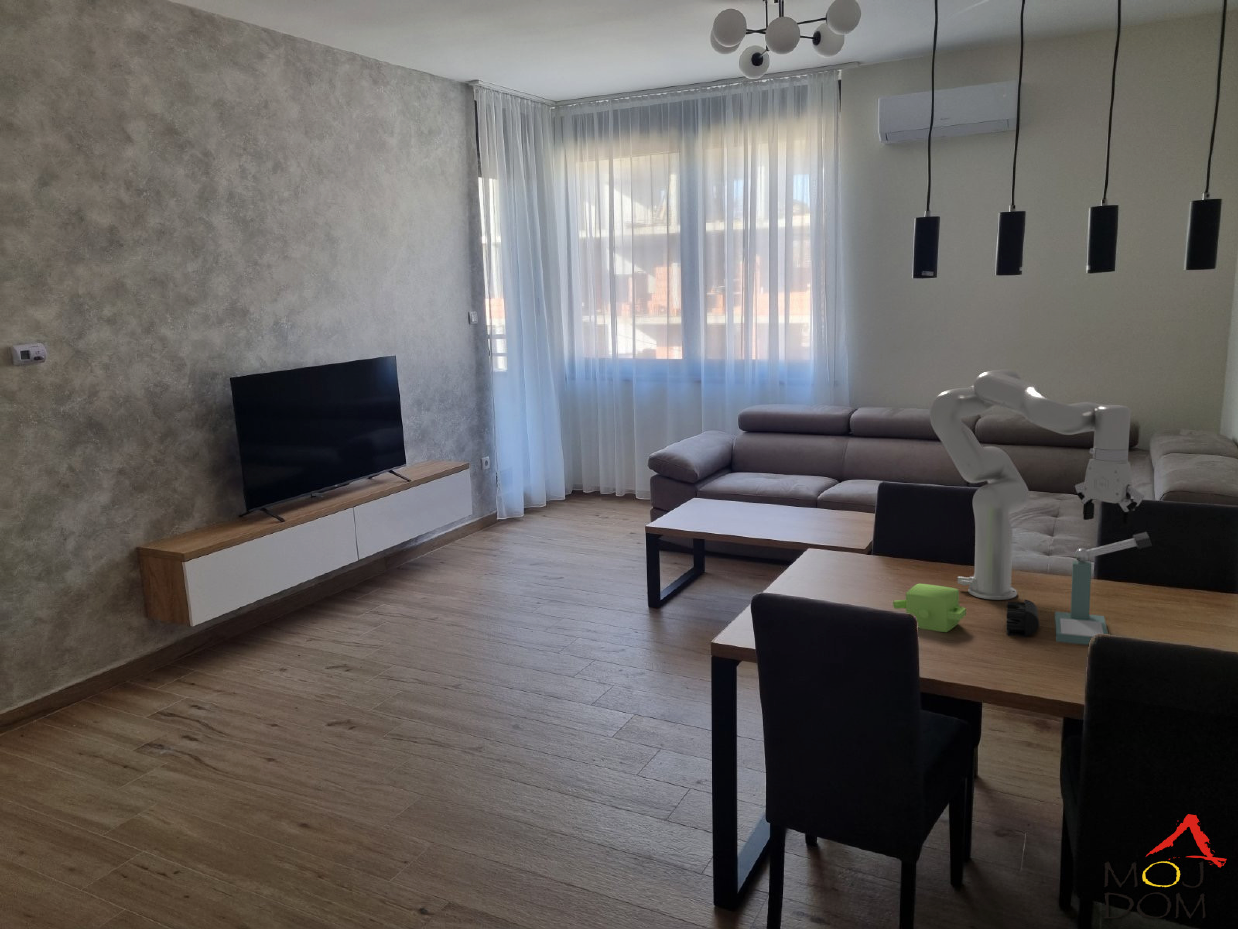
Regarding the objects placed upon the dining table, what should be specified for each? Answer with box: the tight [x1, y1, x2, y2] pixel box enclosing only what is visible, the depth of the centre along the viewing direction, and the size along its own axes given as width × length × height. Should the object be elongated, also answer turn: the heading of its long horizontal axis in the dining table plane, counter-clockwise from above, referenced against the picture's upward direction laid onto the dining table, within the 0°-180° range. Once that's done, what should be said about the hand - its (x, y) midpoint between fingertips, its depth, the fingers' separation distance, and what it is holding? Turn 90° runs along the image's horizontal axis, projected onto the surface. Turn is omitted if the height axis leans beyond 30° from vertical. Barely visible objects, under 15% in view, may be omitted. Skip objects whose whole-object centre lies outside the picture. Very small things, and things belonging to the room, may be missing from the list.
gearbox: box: [892, 583, 967, 633], centre depth 225 cm, size 18×10×10 cm, turn 50°
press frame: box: [1054, 560, 1109, 646], centre depth 215 cm, size 11×17×16 cm, turn 155°
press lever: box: [1074, 531, 1153, 562], centre depth 215 cm, size 16×6×3 cm, turn 65°
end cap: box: [1005, 599, 1040, 638], centre depth 218 cm, size 10×7×7 cm
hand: (1106, 522), depth 220 cm, fingers open, 9 cm apart
